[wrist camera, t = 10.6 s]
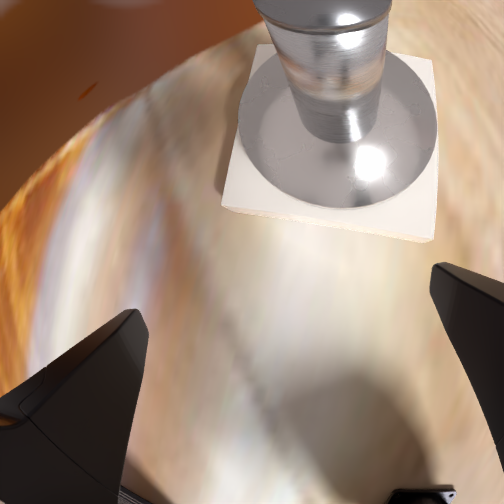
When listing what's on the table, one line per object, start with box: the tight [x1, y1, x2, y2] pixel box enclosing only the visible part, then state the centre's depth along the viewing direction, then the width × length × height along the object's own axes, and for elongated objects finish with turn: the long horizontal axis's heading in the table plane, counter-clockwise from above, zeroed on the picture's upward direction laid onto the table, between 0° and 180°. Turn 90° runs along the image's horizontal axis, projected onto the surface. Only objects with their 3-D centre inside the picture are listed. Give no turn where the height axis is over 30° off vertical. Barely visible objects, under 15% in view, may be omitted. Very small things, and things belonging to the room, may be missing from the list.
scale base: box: [221, 44, 438, 243], centre depth 20 cm, size 14×14×2 cm
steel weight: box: [253, 0, 392, 144], centre depth 12 cm, size 5×5×10 cm
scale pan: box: [238, 50, 437, 211], centre depth 19 cm, size 13×14×4 cm
